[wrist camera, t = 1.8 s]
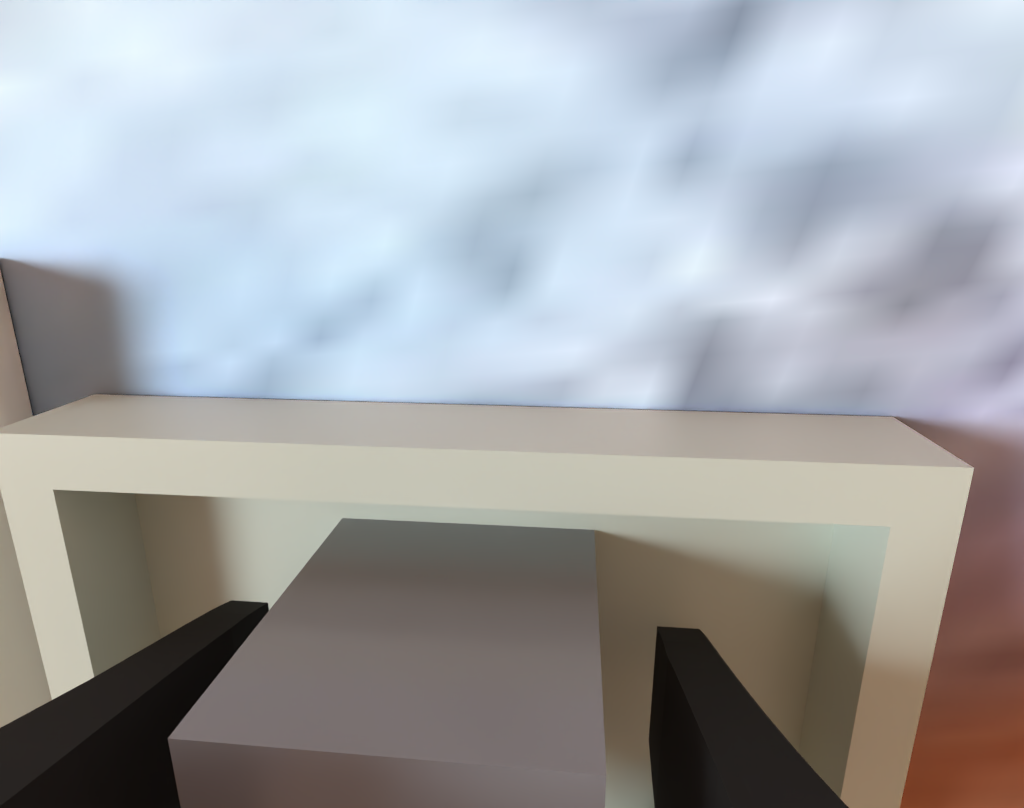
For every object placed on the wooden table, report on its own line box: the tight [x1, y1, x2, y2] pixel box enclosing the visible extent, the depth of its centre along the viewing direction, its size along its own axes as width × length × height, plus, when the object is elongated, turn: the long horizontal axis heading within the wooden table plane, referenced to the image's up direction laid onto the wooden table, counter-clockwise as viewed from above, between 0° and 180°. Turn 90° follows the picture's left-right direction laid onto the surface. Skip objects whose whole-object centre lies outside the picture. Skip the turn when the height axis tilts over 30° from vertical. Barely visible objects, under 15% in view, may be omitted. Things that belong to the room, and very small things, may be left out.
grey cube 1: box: [168, 518, 606, 808], centre depth 8 cm, size 4×4×4 cm
